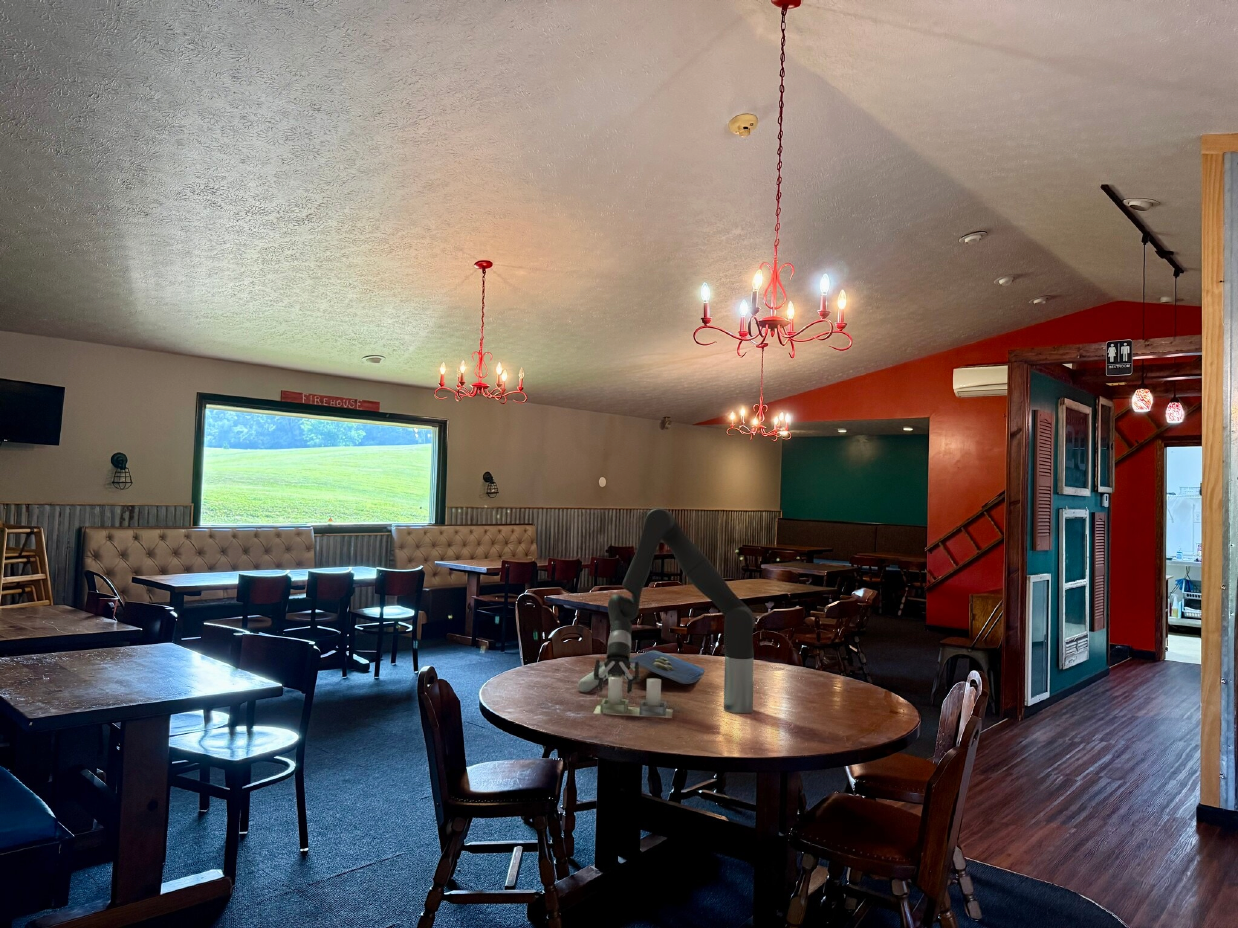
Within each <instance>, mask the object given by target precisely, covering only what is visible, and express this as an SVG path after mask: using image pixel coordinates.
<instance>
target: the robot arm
mask: <svg viewBox="0 0 1238 928" xmlns="http://www.w3.org/2000/svg"><path fill="white" fill-rule="evenodd" d="M661 541H663V543H664V545H666V546H667V548H668V549H670V552H671V553H672V554H673V556H674V558H675V560H676V562H677V564H678V565H679V567H680V569H681V570H682V572H683V575H685V576H686V577H687V579H688V580H689V581H690V582H691V584H692V585H693V586H694V587H695V588H696V589H697V590H698V591H699V592H700V593H702V595H704V596H705V597H706V598H708V599H709V600H710V601H711V603H713V604H714V605H715V606H716V607H717V608H718V610H719V611H720V612H721V614H722V615H723V617H724V624H723V627H724V629H723V630H724V631H723V647H724V680H723V681H724V682H723V683H724V684H723V710H724V711H726V712H728V713H732V714H733V713H734V714H750V713H751V714H752V713H753V712H754V683H755V682H754V654H755V653H754V652H755V651H754V644H753V642H754V641H753V640H754V638H753V637H754V634H753V633H754V628H755V626H756V616H755V614H754V612H753V610H751V609H750V607H748V606H747V605H746V604H745V603H744V602H743V601H742V600H741V599H740V597H738V595H736V594H735V593H734V591H733V590H732V588H730V586H729V584H728V583H727V582H726V580H725V579H724V578H723V577H722V575H721V574H720V573H719V571H718V570H717V569H716V567H715V566H714V565H713V563H712V562H711V561H710V560H709V559H708V557H707V556H706V555H705V554H704V553H703V551H702V550H700V549H699V548H698V546H696V544H695V543H694V542H693V541H692V540H691V539H690V538H689V537H688V536H687V535H686V533H685V532H684V531H683V528H681V526H680V524H679V523H678V521H677V520H676V519H675V516H674V515H673V513H671V511H669V510H666V509H665V508H653V509H652V510H650V511H649V512H648V513H647V514H646V517H645V519H644V524H643V528H642V533H641V536H640V540H639V543H638V545H637V548H636V550H635V552H634V553H635V554H634V556H633V558H632V560H631V562H630V565H629V567H628V570H627V571H626V575H625V577H624V579H623V581H622V588H623V589H624V590H626V591H627V592H629V593H630V595H631V598H629V597H627V596H624V595H622V594H618V593H617V594H613V595H611V596H610V598H609V599H608V602H607V613H608V618H609V623H610V630H609V636H608V641H607V651H606V658H605V661H600V659H596V660H595V664H594V669H593V671H594V679H595V680H598V686H597V689H598V691H599V692H601V693H602V692H603V689H604V682H605V681H606V680H605V679H606V678H608V677H609V676H610V677H611V676H619V677H620V676H621V677H622V676H623V678H625V680H627V686H626V687H627V691H626V692H627V693H626V694H631V693H630V692H632V691H633V684H634V683H638V682H640V666H639V662H635V663H630V658H631V651H632V632H633V631H632V628H633V624H632V622H631V621H633V620H634V619H636V618H637V616H638V614H639V611H640V603H641V602H640V601H641V597H642V592H643V590H644V587H645V584H646V582H647V579H648V577H649V574H650V571H651V568H652V565H653V560H654V558H655V557H654V556H655V553H656V552H657V548H658V546H659V545H660V542H661ZM603 666H604V667H605V669H604V670H603V672H602V673H601V674H600V675H599V669H601V668H602V667H603ZM631 669H632V671H634V675H632V674H631V673H630V670H631ZM608 679H609V678H608ZM604 680H605V681H604Z"/></svg>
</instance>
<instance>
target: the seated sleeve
mask: <svg viewBox="0 0 1238 928" xmlns="http://www.w3.org/2000/svg"><path fill="white" fill-rule="evenodd" d="M661 690H662V679H660V678H657V677H656V678H652V677H651V678H650V677H649V678H646V692H645V693H646V697H645V698H646V699H645V701H646V706H647V707H661V706H660V702H661V696H662V694H661V693H662V691H661Z"/></svg>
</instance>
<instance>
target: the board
mask: <svg viewBox="0 0 1238 928" xmlns="http://www.w3.org/2000/svg"><path fill="white" fill-rule="evenodd" d="M607 703H608V698H603V699H602V701H601V703H600V705H596V707H595V709H594V711H593V714H594V715H595V714H597V715H599V714H600V715H612V716H613V715H614V716H615V715H616V716H633V717H648V718H650V717H651V718H667V719H672V718H673V711H674V710H673V709H668V708H667V701H660V706H661V707H647V706H646V700H640V703H639V704H640V705H639V707H632V706H631V707H630V706H629V699H622V705H611V704H607Z"/></svg>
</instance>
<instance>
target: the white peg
mask: <svg viewBox="0 0 1238 928" xmlns="http://www.w3.org/2000/svg"><path fill="white" fill-rule="evenodd" d="M607 681H608V684H607V685H608V686H607V699H608V703H607V704H611V705H622V700H623V683H624V682H623V681H624V677H622V676H621V677H620V676H612V675H610V677H609V678H608V680H607Z"/></svg>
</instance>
